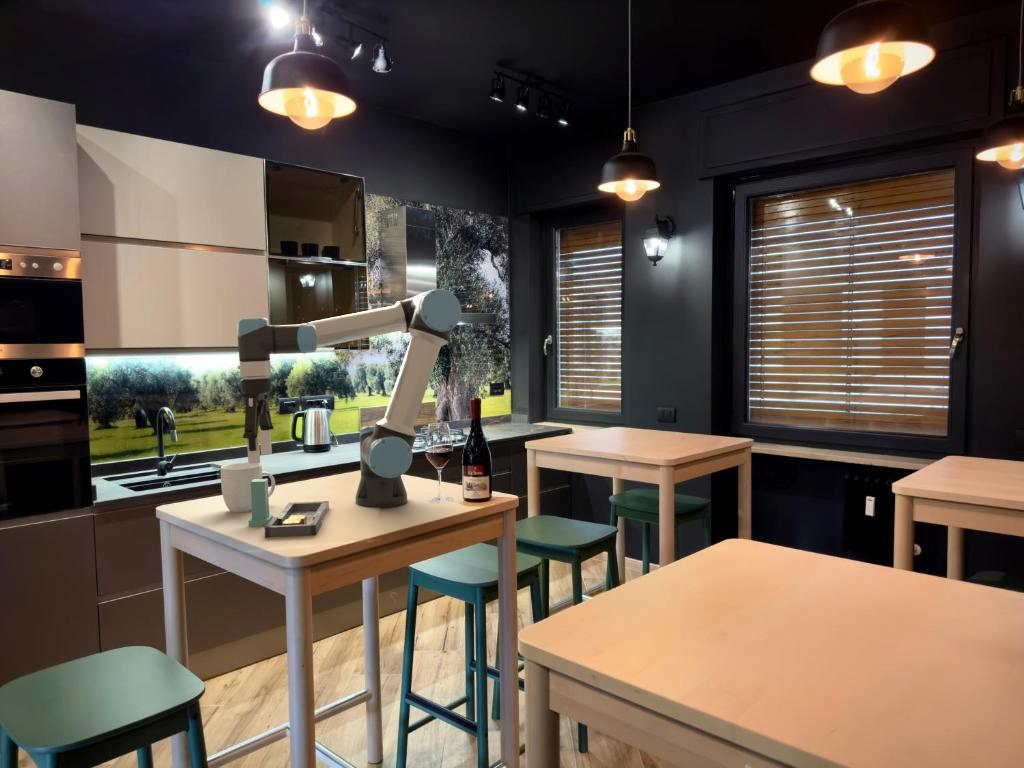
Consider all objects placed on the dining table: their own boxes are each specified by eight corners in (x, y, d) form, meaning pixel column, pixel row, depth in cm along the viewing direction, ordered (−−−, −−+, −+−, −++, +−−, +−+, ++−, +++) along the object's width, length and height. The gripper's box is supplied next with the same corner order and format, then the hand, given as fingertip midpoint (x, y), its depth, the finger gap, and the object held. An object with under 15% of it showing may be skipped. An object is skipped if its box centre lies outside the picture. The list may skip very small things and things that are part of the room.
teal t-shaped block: (273, 522, 184) (271, 478, 183) (268, 527, 179) (267, 481, 178) (253, 523, 183) (251, 478, 183) (248, 528, 178) (246, 482, 178)
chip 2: (306, 524, 180) (306, 514, 180) (304, 528, 176) (304, 518, 176) (291, 524, 179) (290, 515, 179) (288, 528, 175) (287, 519, 175)
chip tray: (321, 526, 179) (321, 514, 179) (315, 537, 169) (315, 525, 169) (273, 528, 178) (273, 517, 178) (265, 539, 168) (264, 527, 168)
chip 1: (302, 528, 176) (301, 518, 176) (299, 532, 172) (298, 522, 172) (285, 529, 175) (285, 519, 175) (282, 533, 171) (282, 523, 171)
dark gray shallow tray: (328, 509, 197) (328, 501, 197) (319, 526, 179) (319, 516, 179) (289, 511, 196) (288, 502, 195) (275, 528, 178) (275, 518, 178)
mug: (268, 502, 207) (267, 459, 207) (282, 508, 199) (280, 463, 198) (217, 510, 198) (215, 465, 197) (229, 517, 190) (227, 470, 189)
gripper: (252, 375, 191) (256, 451, 192) (227, 381, 166) (232, 468, 167) (280, 374, 191) (284, 450, 193) (259, 380, 167) (264, 466, 168)
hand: (260, 458), depth 180 cm, fingers open, 13 cm apart
